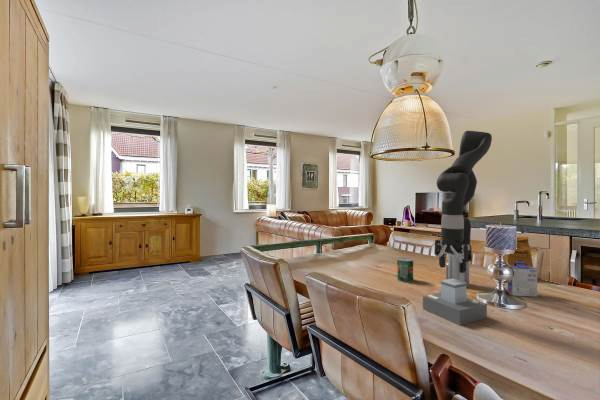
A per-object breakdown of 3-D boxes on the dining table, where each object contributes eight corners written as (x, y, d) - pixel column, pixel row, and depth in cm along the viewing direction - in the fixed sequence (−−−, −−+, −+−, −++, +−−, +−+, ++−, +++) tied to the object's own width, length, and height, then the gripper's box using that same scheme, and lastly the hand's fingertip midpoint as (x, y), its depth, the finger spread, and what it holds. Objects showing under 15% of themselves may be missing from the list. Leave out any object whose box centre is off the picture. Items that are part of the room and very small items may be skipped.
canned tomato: (415, 282, 151) (415, 260, 151) (400, 282, 151) (399, 260, 151) (410, 278, 159) (410, 257, 159) (395, 278, 159) (395, 257, 159)
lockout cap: (441, 298, 113) (440, 280, 113) (452, 296, 115) (452, 278, 115) (455, 304, 107) (455, 284, 107) (466, 301, 110) (466, 282, 110)
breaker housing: (422, 308, 116) (422, 294, 116) (448, 303, 122) (448, 289, 122) (459, 325, 101) (459, 308, 101) (486, 318, 107) (486, 302, 107)
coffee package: (534, 281, 150) (534, 238, 150) (505, 278, 156) (505, 236, 155) (529, 276, 159) (529, 235, 159) (501, 274, 165) (501, 234, 164)
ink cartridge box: (531, 293, 133) (531, 260, 133) (538, 297, 128) (538, 263, 127) (506, 291, 135) (506, 260, 135) (512, 295, 130) (512, 262, 129)
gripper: (477, 228, 106) (476, 273, 106) (443, 224, 119) (443, 264, 120) (462, 229, 103) (461, 276, 103) (429, 225, 116) (429, 266, 117)
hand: (452, 269), depth 111 cm, fingers open, 8 cm apart
